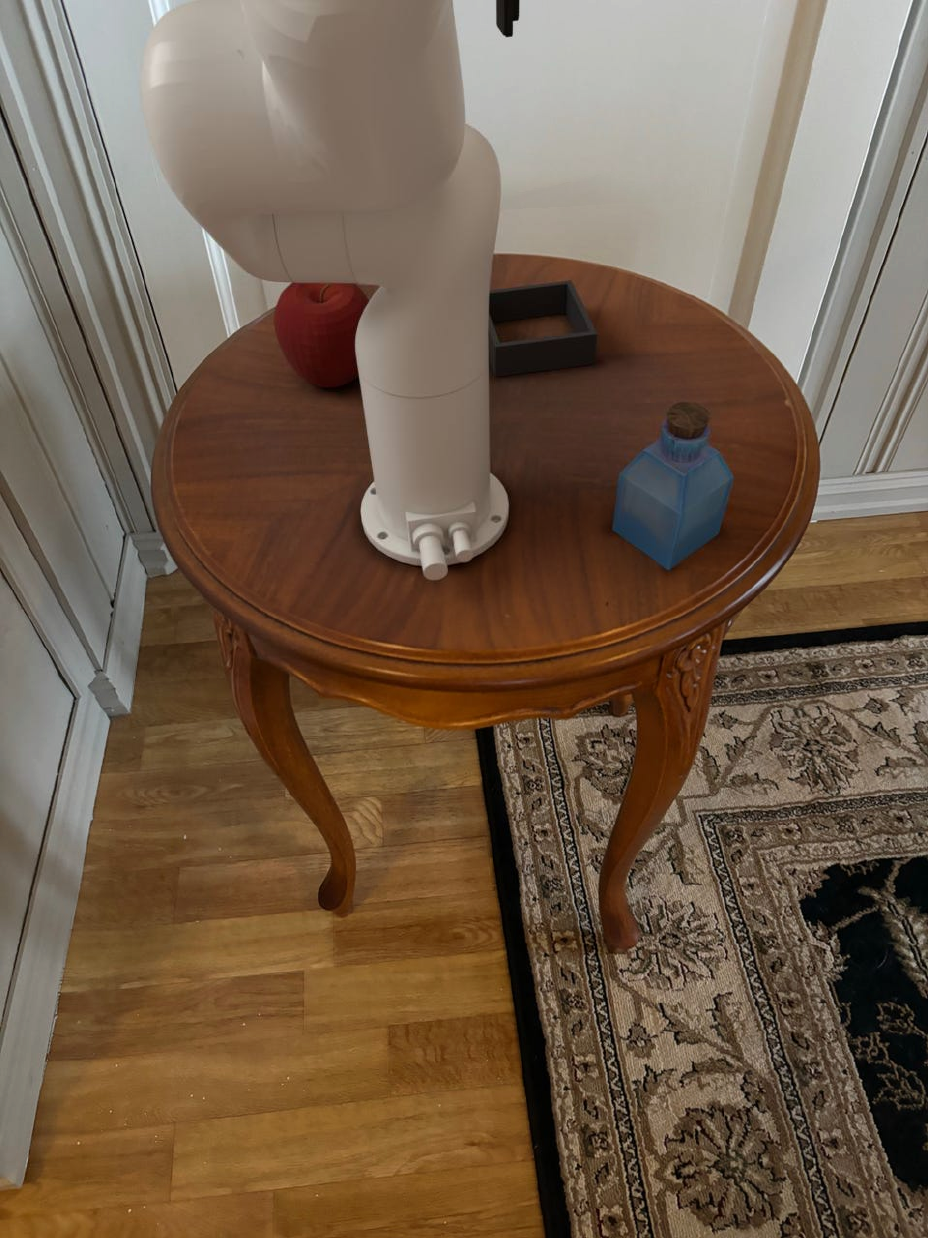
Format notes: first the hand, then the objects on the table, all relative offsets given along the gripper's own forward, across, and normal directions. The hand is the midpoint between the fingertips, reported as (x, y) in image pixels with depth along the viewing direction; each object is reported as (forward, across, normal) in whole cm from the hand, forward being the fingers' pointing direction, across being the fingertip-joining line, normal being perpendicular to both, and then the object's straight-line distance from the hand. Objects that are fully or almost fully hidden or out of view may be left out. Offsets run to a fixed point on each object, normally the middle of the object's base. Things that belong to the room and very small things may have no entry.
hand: (446, 37), depth 72 cm
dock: (+28, +8, -2) cm, 29 cm away
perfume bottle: (+28, +11, -32) cm, 44 cm away
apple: (+28, -14, -3) cm, 31 cm away
